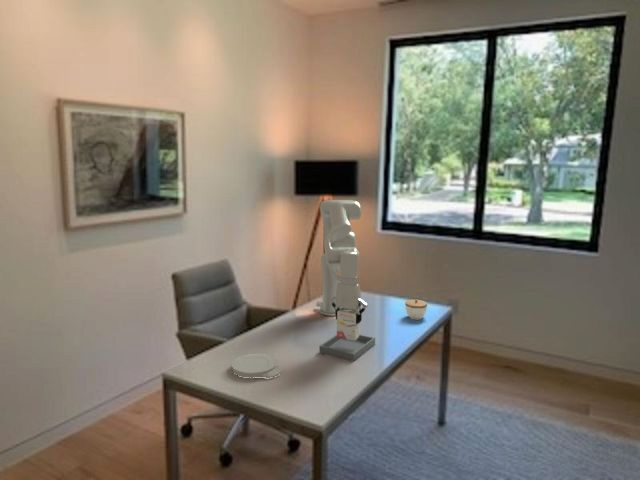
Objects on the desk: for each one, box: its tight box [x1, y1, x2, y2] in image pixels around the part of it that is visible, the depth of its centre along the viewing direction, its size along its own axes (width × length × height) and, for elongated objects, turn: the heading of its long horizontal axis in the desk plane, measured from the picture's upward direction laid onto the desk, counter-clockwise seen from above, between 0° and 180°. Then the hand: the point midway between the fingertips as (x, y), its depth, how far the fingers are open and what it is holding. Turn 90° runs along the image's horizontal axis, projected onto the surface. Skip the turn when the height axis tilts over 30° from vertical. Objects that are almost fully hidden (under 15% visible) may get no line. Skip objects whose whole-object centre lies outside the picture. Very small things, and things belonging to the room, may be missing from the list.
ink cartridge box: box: [336, 308, 360, 341], centre depth 202 cm, size 9×5×15 cm, turn 65°
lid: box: [230, 353, 282, 378], centre depth 184 cm, size 17×20×3 cm
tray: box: [318, 333, 376, 362], centre depth 204 cm, size 16×20×3 cm
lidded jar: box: [404, 299, 428, 321], centre depth 242 cm, size 11×11×9 cm
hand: (348, 320), depth 202 cm, fingers closed on ink cartridge box, 9 cm apart
